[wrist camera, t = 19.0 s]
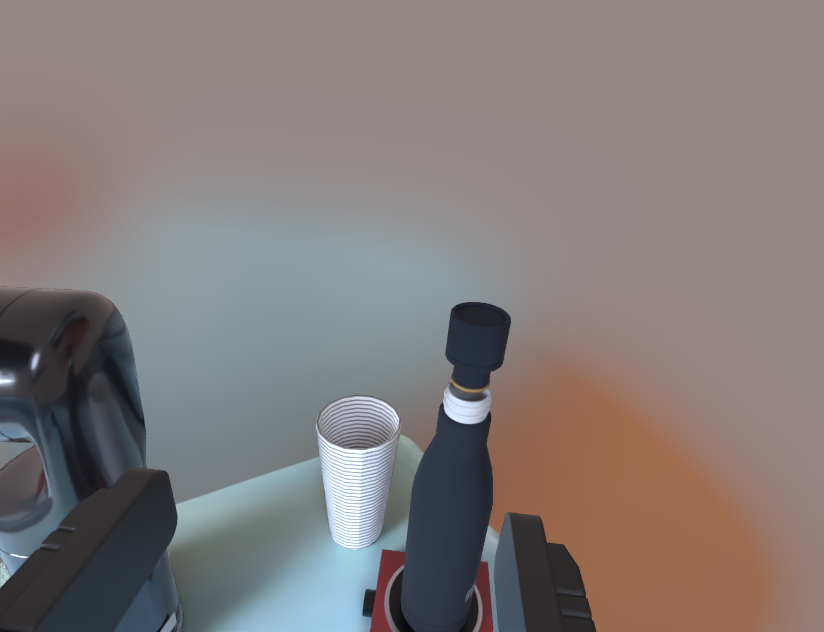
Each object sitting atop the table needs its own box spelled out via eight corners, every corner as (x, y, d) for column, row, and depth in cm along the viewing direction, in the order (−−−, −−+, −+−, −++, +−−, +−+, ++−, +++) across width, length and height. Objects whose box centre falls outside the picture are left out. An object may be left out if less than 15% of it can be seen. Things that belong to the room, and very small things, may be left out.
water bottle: (401, 568, 45) (429, 290, 32) (465, 572, 45) (520, 297, 32) (398, 637, 39) (431, 333, 26) (472, 642, 39) (543, 342, 26)
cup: (388, 494, 56) (395, 392, 50) (397, 557, 49) (408, 447, 42) (318, 500, 55) (316, 396, 48) (317, 566, 47) (314, 453, 41)
